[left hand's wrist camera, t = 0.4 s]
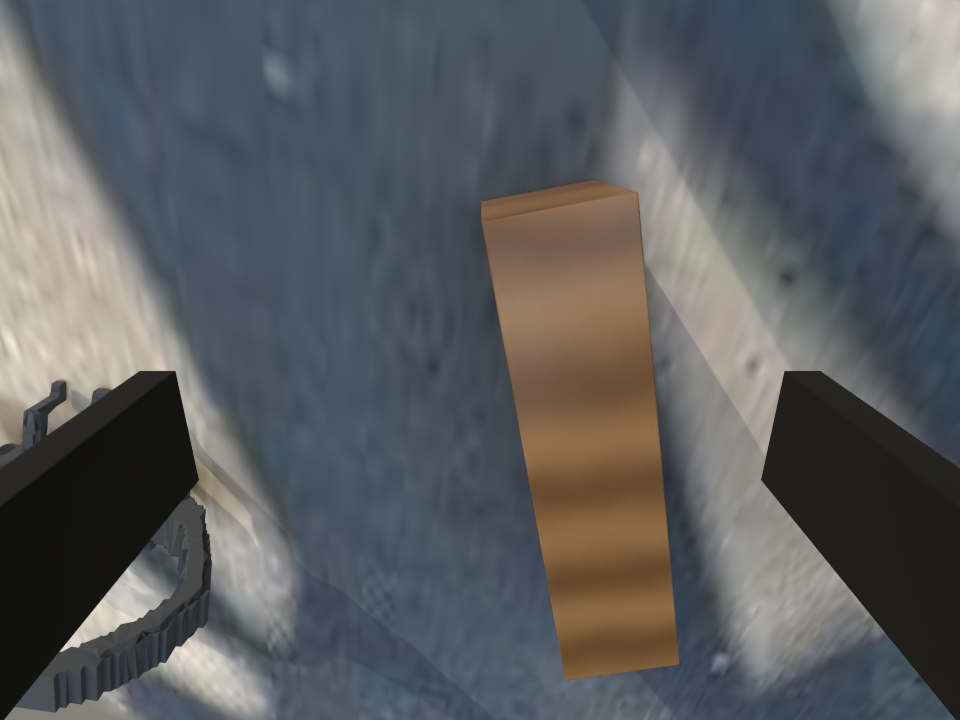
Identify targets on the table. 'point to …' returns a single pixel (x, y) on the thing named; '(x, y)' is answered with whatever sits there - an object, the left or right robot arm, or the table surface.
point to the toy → (134, 642)
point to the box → (587, 417)
